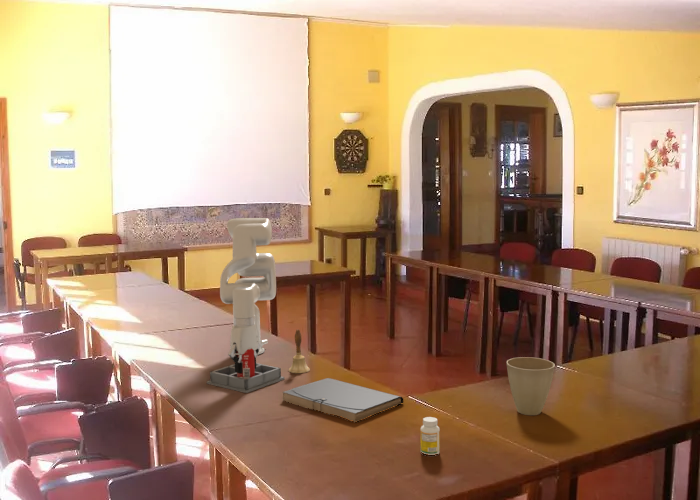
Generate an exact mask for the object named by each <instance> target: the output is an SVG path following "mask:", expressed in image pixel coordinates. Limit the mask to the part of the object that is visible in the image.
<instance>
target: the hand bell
mask: <svg viewBox="0 0 700 500" xmlns="http://www.w3.org/2000/svg"><path fill="white" fill-rule="evenodd" d="M294 343H295V345H296V350H295V351H296V354H295V355H294V356H293V357H292V363H291V366H290V367H289V368H288V370H287V371H288V372H289V373H291V374H304V373H305V374H306V373H308V372H310V370H311V369H310V367H308V364H307V362H306V357H305V355H302V353H301V344H302V334H301V330H300V329H296V330H295V334H294Z"/></svg>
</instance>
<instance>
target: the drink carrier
mask: <svg viewBox="0 0 700 500" xmlns="http://www.w3.org/2000/svg"><path fill="white" fill-rule="evenodd" d="M281 371H282V368H281V367H277V366H272V365H267V364H262V363H257V362H256V369H255V376H253V377H250V378H248V379H244V378H239V377H237V373H236V372H235V363H234V364H231V365H228V366H223V367H222V368H221V367H220V368H217V369H215V370H212V371H210V372H209V380H208V381H206V384H207V385H212V386H215V387H220V388H223V389H229V390H231V391H237V392H241V393H245V394H248V393H252V392H254V391H256V390H258V389H261V388H264V387H268V386H271V385H272V384H275V383H278V382H281V381H284V380H285V377H284V376H282V372H281Z"/></svg>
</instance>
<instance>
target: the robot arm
mask: <svg viewBox="0 0 700 500" xmlns="http://www.w3.org/2000/svg"><path fill="white" fill-rule="evenodd" d="M226 228H227V231H228V232H227V233H228V235H229V236H230V238H231V239H232V259H231V260H230V261H229V262H228V263H227V265H226V266H225V267H224V268H223V270H222V272H221V275H220V280H219V297H220V300H221V302H222V303H224V304H226V305H231V304H232V317H233V318H232V320H233V323H232V324H233V325H232V326H231V330H230V341H229V342H230V343H229V345H230V347H229V349H230V350H229V352H228V354H227V355H228V356H229V358H230V359H231V360H232V361H233V362H234V364H235V372H236V373H240V374H241V373H242V372H243V370H242V362H241V359H242V355H243V354H244V353H245V352H246V351H247V349H249V348H252V349H253V350H254V363H255V369H256V363H257V357H258V355H261V354H263V353H265V348H264V347H263V346H264V345H266V344H267V345H268V343H269V341H268V339H261V318H260V317H261V314H260V313H261V312H260V309H259V307H258V305H256V303H257V302H258V301H271V300H273V299H275V297H276V294H277V278H276V277H277V275H276V273H277V272H276V271H277V270H276V262H275V260H276V259H275V257H274V255H273V254H272V253H268V252H260V253H259V252H257V246H268V245H270V244H271V241H272V234H273V233H272V232H273V230H272V229H273V227H272V222H271V220H270V219H269V218H267V217H246V218H245V217H240V218H238V217H237V218H232V219H229V220H228V221H227V223H226ZM236 274H237V275H239V276H241V277H242V278H238V279H236V281H235V282H233V283H232V282H230V283H228V282H229V280H230V278H231V277H232V276H234V275H236ZM237 352H238V353H237ZM238 355H239V357H238V358H237V356H238Z"/></svg>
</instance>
